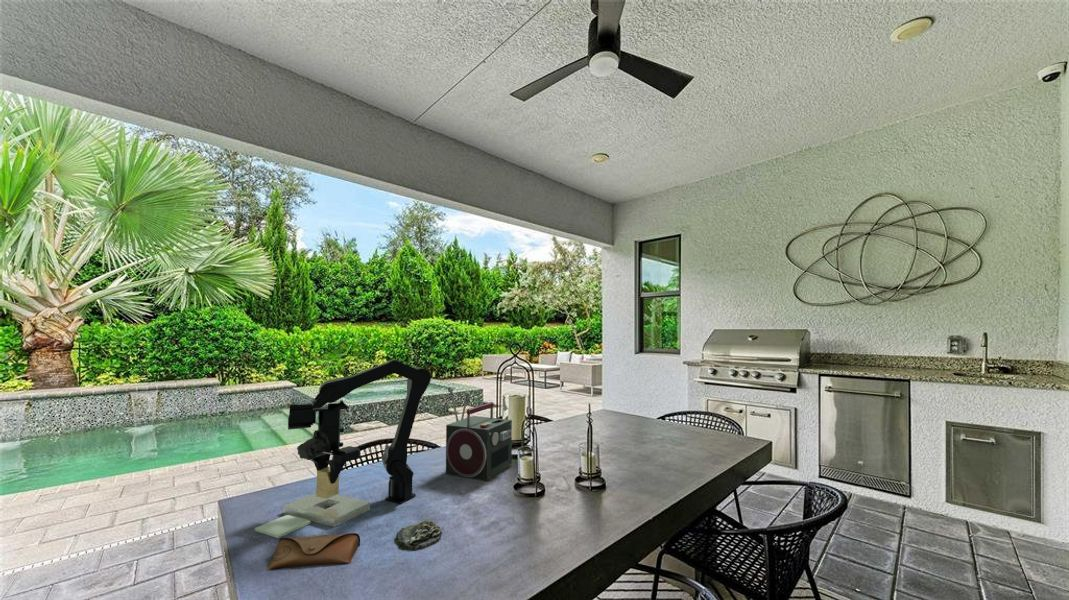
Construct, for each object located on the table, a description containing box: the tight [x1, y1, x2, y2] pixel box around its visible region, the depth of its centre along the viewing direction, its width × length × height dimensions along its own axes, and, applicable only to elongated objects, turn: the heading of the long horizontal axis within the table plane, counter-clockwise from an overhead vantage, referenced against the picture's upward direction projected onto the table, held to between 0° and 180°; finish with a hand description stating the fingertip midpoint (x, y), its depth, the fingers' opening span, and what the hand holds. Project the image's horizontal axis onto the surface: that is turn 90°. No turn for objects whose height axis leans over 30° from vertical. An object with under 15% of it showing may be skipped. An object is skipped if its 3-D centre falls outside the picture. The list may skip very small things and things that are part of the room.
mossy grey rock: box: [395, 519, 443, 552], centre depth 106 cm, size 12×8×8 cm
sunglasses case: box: [266, 532, 361, 571], centre depth 98 cm, size 18×7×7 cm
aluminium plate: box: [283, 492, 371, 528], centre depth 122 cm, size 20×12×2 cm, turn 64°
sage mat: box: [254, 514, 312, 539], centre depth 112 cm, size 9×9×1 cm
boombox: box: [445, 386, 513, 482], centre depth 157 cm, size 18×21×30 cm
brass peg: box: [315, 466, 340, 499], centre depth 122 cm, size 4×4×7 cm
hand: (327, 482), depth 122 cm, fingers closed on brass peg, 4 cm apart
